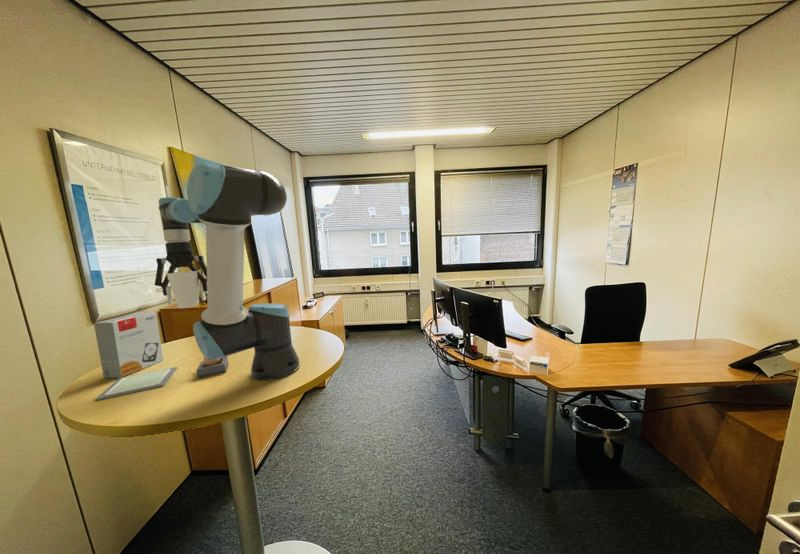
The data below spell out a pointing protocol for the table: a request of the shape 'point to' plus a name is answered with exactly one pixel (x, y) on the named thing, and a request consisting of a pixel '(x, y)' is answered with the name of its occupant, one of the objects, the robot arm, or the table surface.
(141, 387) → the picture board
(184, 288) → the foam cup
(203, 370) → the button housing
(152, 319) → the hard drive box
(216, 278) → the robot arm
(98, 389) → the table surface
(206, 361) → the button
